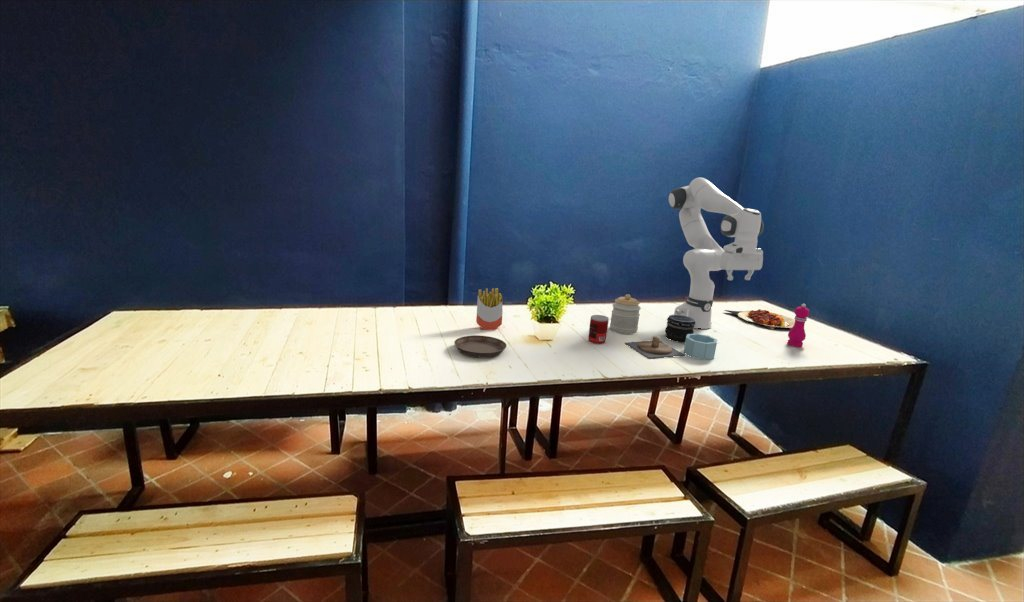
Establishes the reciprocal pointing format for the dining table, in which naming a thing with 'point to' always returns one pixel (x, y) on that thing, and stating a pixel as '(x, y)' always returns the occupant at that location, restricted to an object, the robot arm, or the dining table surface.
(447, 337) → the dining table surface
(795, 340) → the pepper mill
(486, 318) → the french fries container
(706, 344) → the bowl
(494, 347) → the plant saucer
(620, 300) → the jar
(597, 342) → the canned food
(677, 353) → the mat
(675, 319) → the container
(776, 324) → the plate of food
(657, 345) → the lid
